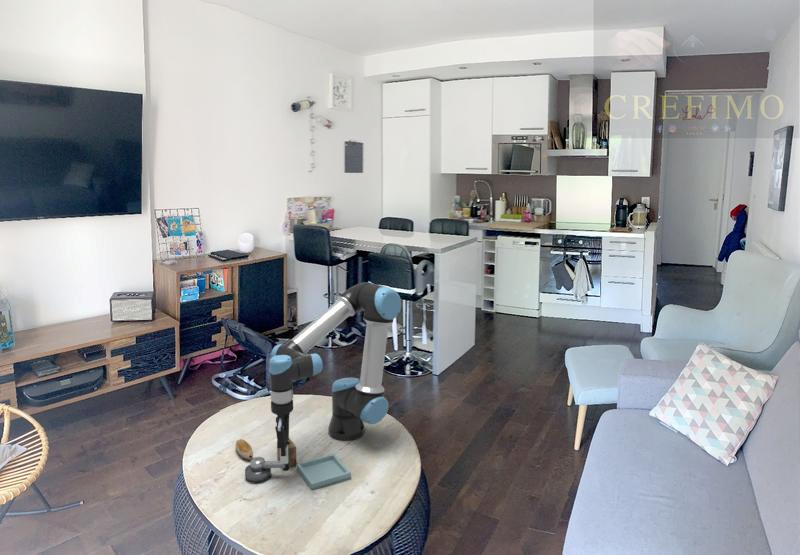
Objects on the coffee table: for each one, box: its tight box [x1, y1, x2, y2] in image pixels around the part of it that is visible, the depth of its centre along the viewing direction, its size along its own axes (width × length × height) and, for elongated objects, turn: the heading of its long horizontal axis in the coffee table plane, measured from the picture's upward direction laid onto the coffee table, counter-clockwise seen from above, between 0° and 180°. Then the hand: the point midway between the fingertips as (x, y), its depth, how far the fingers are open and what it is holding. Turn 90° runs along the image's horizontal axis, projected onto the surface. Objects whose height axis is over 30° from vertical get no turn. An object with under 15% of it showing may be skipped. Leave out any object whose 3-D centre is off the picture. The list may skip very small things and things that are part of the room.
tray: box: [295, 453, 352, 491], centre depth 204 cm, size 15×15×2 cm
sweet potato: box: [235, 438, 254, 461], centre depth 217 cm, size 5×14×4 cm, turn 31°
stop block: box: [276, 437, 297, 469], centre depth 210 cm, size 5×7×8 cm
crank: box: [249, 448, 290, 472], centre depth 201 cm, size 14×5×8 cm, turn 91°
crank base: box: [244, 464, 272, 485], centre depth 202 cm, size 10×9×3 cm
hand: (284, 462), depth 198 cm, fingers closed
